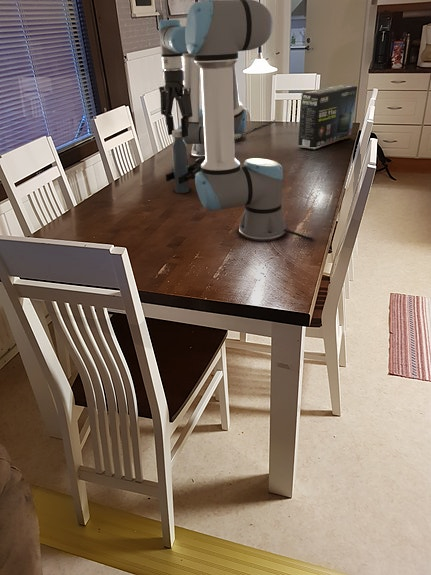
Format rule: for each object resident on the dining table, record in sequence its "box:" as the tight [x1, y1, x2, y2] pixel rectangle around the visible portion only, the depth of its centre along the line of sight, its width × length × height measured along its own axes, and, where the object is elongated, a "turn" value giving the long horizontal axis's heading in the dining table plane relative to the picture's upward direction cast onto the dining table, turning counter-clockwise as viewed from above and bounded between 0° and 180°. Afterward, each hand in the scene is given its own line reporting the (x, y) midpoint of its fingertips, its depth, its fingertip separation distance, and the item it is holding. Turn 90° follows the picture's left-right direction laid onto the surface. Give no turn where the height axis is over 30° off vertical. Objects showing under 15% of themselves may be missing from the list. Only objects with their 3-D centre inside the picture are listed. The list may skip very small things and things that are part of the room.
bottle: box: [171, 137, 190, 194], centre depth 182 cm, size 6×6×23 cm
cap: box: [171, 128, 182, 138], centre depth 176 cm, size 4×4×2 cm
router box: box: [297, 84, 358, 151], centre depth 238 cm, size 36×11×27 cm, turn 134°
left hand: (173, 179), depth 181 cm, fingers closed on bottle, 6 cm apart
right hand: (178, 135), depth 176 cm, fingers open, 6 cm apart
